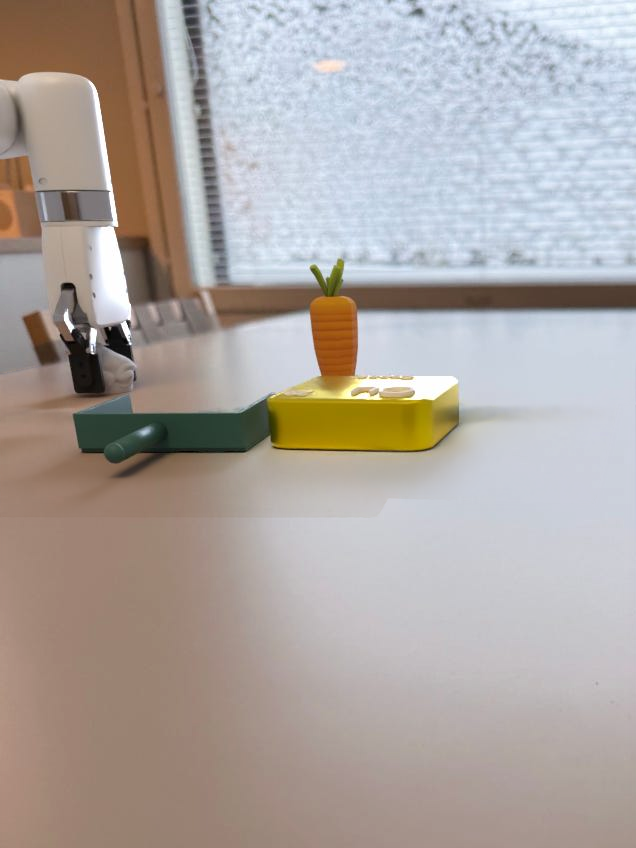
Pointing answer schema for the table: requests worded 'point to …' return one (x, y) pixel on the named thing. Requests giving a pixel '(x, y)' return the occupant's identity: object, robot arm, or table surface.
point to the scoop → (167, 429)
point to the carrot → (334, 326)
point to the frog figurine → (115, 371)
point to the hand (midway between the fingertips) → (107, 385)
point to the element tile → (364, 413)
